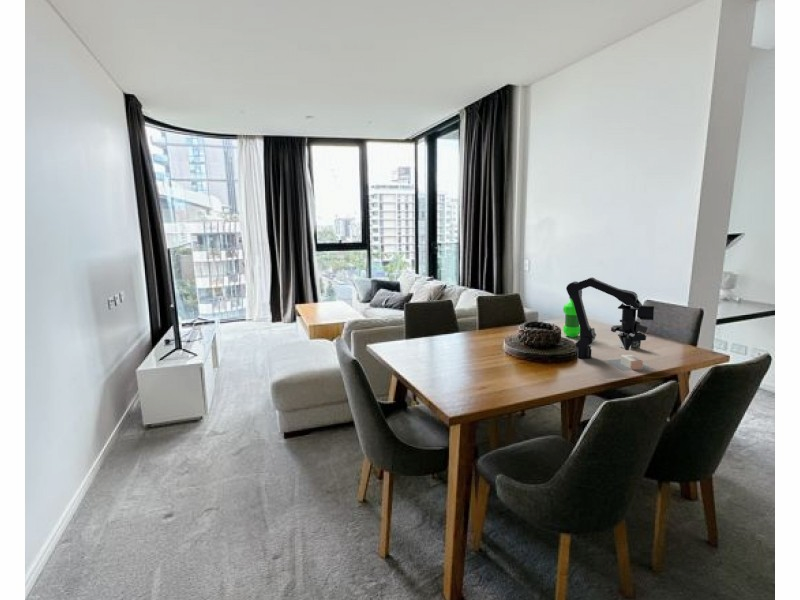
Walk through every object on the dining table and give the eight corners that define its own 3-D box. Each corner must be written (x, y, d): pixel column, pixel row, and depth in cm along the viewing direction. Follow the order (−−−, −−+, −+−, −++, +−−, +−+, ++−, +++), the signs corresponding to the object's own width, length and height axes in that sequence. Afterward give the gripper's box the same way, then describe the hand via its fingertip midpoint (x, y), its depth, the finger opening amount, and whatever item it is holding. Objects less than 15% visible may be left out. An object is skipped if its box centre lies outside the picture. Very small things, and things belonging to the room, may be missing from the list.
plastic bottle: (582, 334, 251) (583, 294, 246) (579, 339, 242) (580, 297, 237) (564, 333, 256) (566, 293, 251) (561, 337, 247) (562, 296, 243)
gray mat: (622, 371, 188) (622, 370, 188) (604, 361, 203) (605, 360, 203) (652, 370, 189) (652, 368, 189) (632, 359, 203) (632, 358, 203)
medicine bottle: (630, 350, 217) (632, 328, 215) (619, 347, 224) (620, 325, 222) (640, 348, 220) (642, 327, 218) (628, 345, 227) (630, 324, 224)
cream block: (620, 363, 198) (631, 369, 189) (620, 355, 197) (632, 361, 188) (630, 362, 198) (642, 369, 189) (630, 354, 197) (642, 360, 188)
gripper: (658, 321, 185) (656, 355, 187) (633, 313, 203) (631, 343, 206) (634, 323, 184) (632, 356, 187) (611, 314, 202) (609, 345, 205)
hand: (626, 350), depth 196 cm, fingers closed
